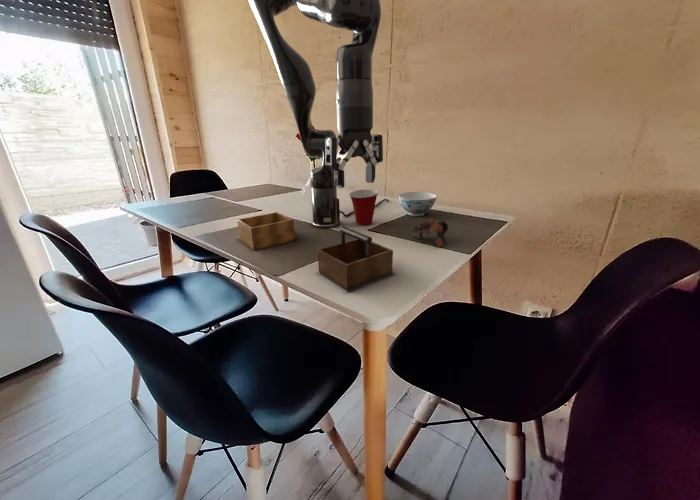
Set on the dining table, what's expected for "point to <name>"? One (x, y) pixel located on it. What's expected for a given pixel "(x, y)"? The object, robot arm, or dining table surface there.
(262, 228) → the box
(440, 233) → the brown toy animal
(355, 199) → the plastic cup
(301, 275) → the dining table surface
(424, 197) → the chinaware
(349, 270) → the box
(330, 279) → the mat
